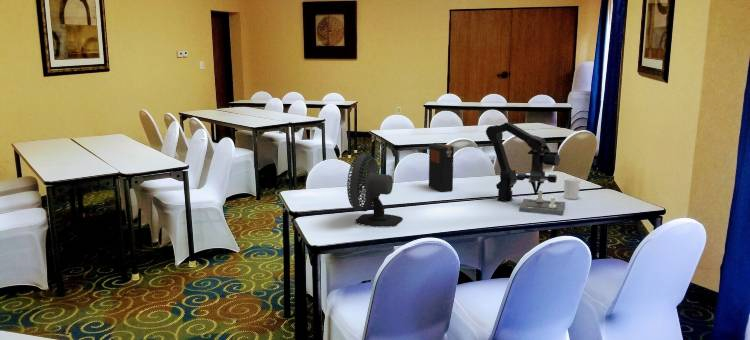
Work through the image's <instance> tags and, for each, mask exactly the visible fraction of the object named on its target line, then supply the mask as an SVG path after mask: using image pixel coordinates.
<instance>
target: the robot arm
mask: <svg viewBox="0 0 750 340" xmlns="http://www.w3.org/2000/svg"><path fill="white" fill-rule="evenodd" d="M504 132H505V133H506V132H507V133H509V134H512V135H513V136H515V137H516V138H518V139H520V140H521V141H523V142H525V143H526V145H527V146H528V147H529V148H530V150H529V151H528V152H527V154H528V155H531V165H530V172H529V174H527V172H518V173H516V170H515V169H514V170H512V169H511V167H510V163H509V160H508V157H507V154H506V151H505V150H506V149H505V148H504V143H503V137H504V134H503V133H504ZM485 134H486V137H487V138H488V140H489V142H491V143H492V146H493V148H494V153H495V156H496V159H497V163H498V165H499V169H500V174H499V182H498V183H496V185H495V187H496V189H497V191H498V192H497V201H498V202H499V201H500V202H511V201H512V200H513V189H512V188H514V186H515V185H516V183H517V181H524V180H525V179H526V180H528V183H530V184H531V186H532V189H533V192H534V195H535V196H536V195H537V196H538V191H540V187H541V186H542V184H545V181H547V182H548V183H554V184H555V183H557V180H558V176H557V175H556V174H548V175H547V176H546V171H545V170H544V165H545V166H552V167H559V165H560V162H561V158H560V155H559V152H558V151H551V150H550V147H549V146H548V144H547V141H546V139H545V138H544V137H541V136H538V135H533V134H531V133H529V132H528V131H526V130H524V129H522V128H520V127H518V126H517V125H516V124H514V123H513V122H511V121H510V122H509V121H507V122H504V123H502V124H499V125H498V124H495V125H490V126H487V128H486V129H485Z"/></svg>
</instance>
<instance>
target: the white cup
mask: <svg viewBox="0 0 750 340" xmlns="http://www.w3.org/2000/svg"><path fill="white" fill-rule="evenodd" d="M563 180H564V183H563V184H564V185H563V192H564V194H563V195H564V196H563V197H564V199H566V200H577V199H579V192H580V187H581V186H580V184H581V179H579V178H577V177H565V178H563Z"/></svg>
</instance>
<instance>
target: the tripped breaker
mask: <svg viewBox="0 0 750 340" xmlns="http://www.w3.org/2000/svg"><path fill="white" fill-rule="evenodd" d="M535 200H536V202H543V200H544V198H543V190H538V192H537V197H536V199H535Z"/></svg>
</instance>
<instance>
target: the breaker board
mask: <svg viewBox="0 0 750 340" xmlns="http://www.w3.org/2000/svg"><path fill="white" fill-rule="evenodd" d="M549 204H551V200H545V199H543V202H536V199H532V198H530V199H529V198H523V199H522V201H521V204H520V205H519V207H518V209H519V210H518V212H521V213H534V214H542V215H543V214H545V215H546V214H547V215H554V216H555V215H557V216H563V215H564V211H565V207H566V201H557V200H555V205H556V208H549Z"/></svg>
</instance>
